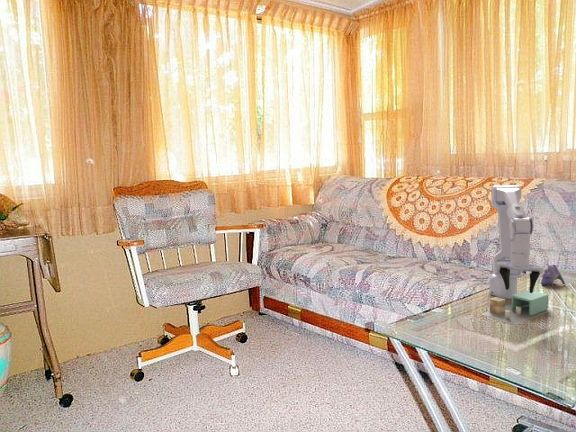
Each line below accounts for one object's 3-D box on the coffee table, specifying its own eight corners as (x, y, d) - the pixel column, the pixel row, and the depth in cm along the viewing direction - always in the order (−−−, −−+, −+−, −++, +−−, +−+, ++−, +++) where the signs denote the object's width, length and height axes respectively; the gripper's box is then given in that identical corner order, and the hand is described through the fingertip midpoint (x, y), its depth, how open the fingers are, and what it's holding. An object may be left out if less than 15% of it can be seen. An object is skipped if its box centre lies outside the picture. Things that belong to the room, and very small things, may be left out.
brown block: (489, 311, 166) (489, 298, 165) (495, 309, 168) (496, 296, 167) (498, 314, 163) (498, 301, 162) (505, 311, 165) (505, 299, 164)
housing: (511, 309, 165) (511, 295, 165) (528, 303, 170) (528, 289, 170) (530, 315, 159) (531, 300, 158) (547, 309, 164) (548, 294, 164)
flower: (570, 267, 196) (546, 257, 197) (572, 281, 190) (548, 270, 191) (556, 282, 202) (534, 272, 203) (558, 295, 195) (535, 284, 197)
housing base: (480, 317, 164) (480, 307, 163) (517, 304, 175) (517, 294, 174) (515, 328, 153) (515, 317, 152) (552, 314, 164) (552, 303, 163)
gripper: (494, 252, 162) (493, 290, 164) (541, 257, 152) (539, 297, 154) (500, 248, 167) (499, 285, 169) (545, 252, 158) (544, 291, 160)
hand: (519, 290), depth 162 cm, fingers open, 7 cm apart
